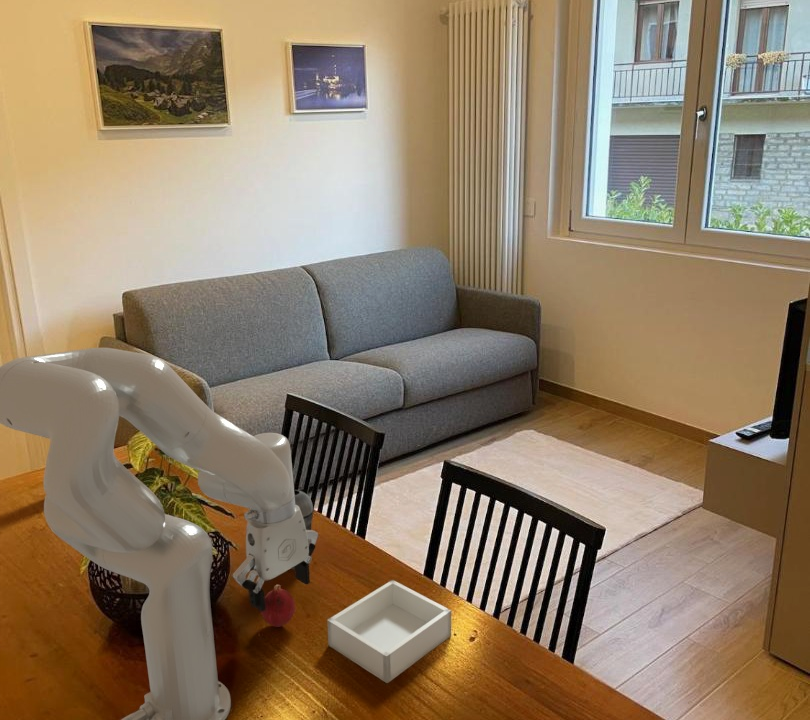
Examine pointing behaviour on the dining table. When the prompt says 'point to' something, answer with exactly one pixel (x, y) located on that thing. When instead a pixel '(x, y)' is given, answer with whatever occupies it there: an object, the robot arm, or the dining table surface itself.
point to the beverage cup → (304, 508)
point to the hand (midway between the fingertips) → (281, 594)
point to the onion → (278, 607)
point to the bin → (389, 630)
